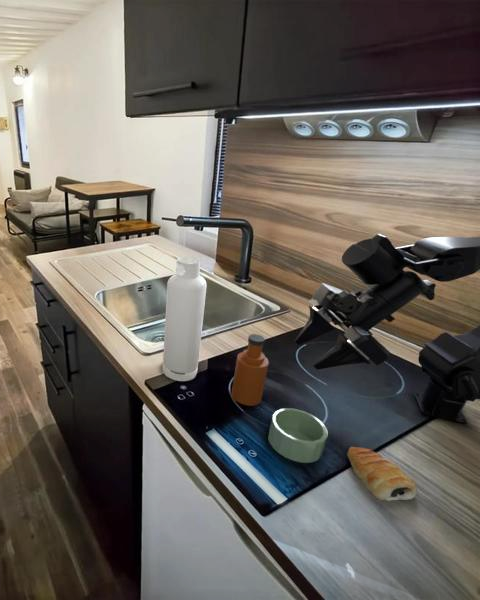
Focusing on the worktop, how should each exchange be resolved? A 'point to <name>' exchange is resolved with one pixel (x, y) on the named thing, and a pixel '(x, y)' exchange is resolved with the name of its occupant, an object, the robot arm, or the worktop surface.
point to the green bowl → (297, 435)
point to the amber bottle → (250, 372)
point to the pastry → (381, 475)
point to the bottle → (184, 320)
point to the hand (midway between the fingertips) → (305, 354)
